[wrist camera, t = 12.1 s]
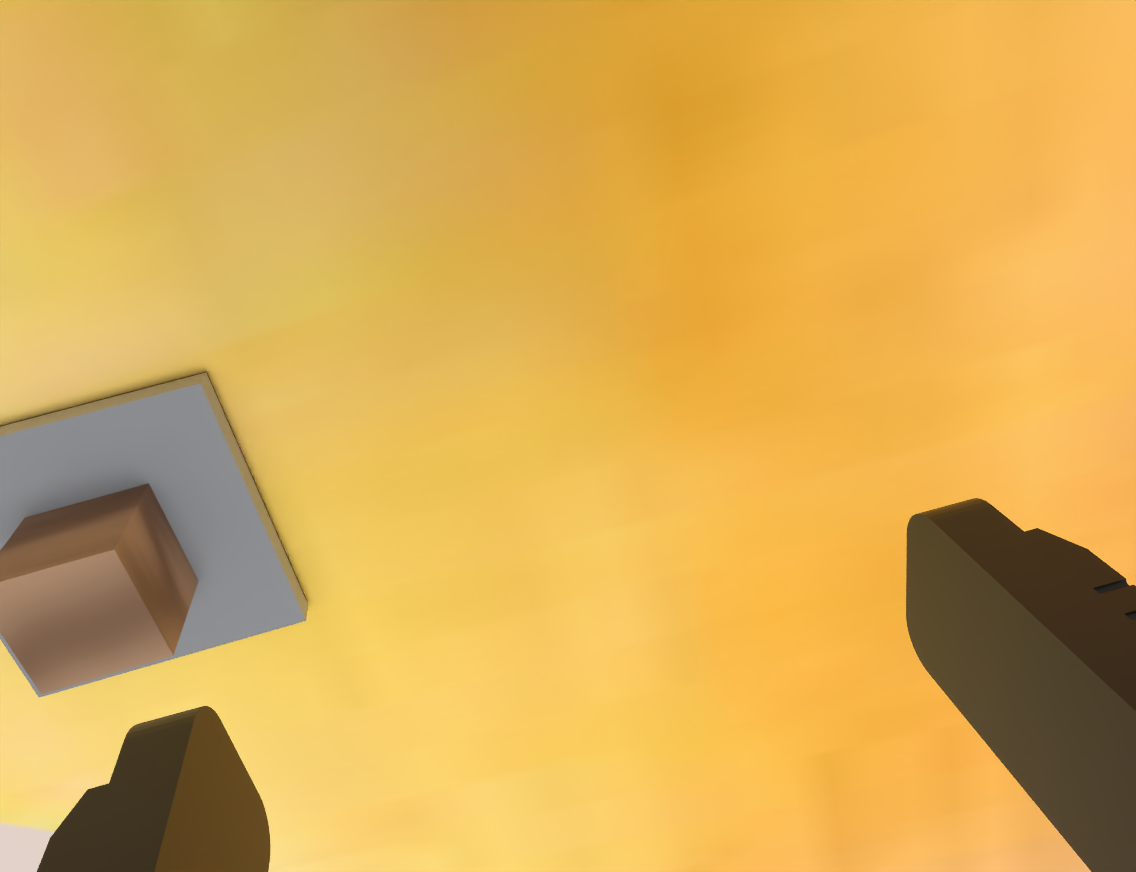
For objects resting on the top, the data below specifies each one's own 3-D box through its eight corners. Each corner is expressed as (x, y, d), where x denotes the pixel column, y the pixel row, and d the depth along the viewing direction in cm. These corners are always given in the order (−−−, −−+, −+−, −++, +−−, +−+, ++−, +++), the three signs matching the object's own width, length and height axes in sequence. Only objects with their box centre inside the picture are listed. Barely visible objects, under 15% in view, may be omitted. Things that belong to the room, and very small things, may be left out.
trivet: (-99, 452, 34) (-114, 466, 33) (206, 372, 35) (200, 383, 34) (48, 679, 39) (38, 697, 38) (308, 604, 40) (305, 620, 39)
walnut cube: (24, 517, 35) (-29, 589, 30) (148, 483, 35) (114, 549, 31) (82, 613, 37) (41, 694, 32) (198, 580, 37) (173, 655, 33)
